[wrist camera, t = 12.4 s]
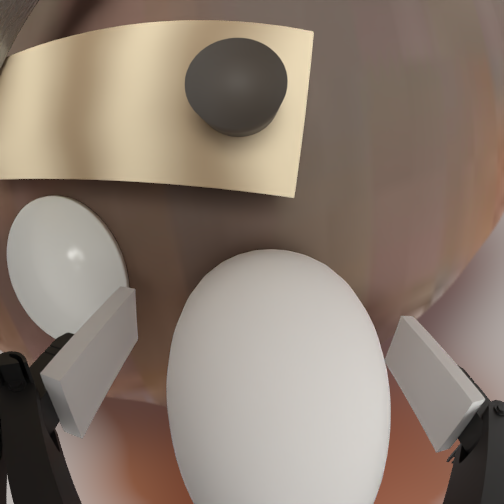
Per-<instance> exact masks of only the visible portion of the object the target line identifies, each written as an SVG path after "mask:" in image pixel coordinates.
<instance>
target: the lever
mask: <svg viewBox="0 0 504 504" xmlns="http://www.w3.org/2000/svg"><path fill="white" fill-rule="evenodd" d="M38 1H39V0H0V69H1V66H2V64H3V62H4V60H5V58H6V56H7V54H8V52H9V50H10V48H11V46H12V44H13V42H14V40H15V39H16V37H17V35H18V33H19V31H20V30H21V28H22V26H23V25H24V23H25V21H26V20H27V18H28V16H29V15H30V13H31V12H32V10H33V8H34V7H35V5H36V4H37V2H38Z"/></svg>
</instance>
